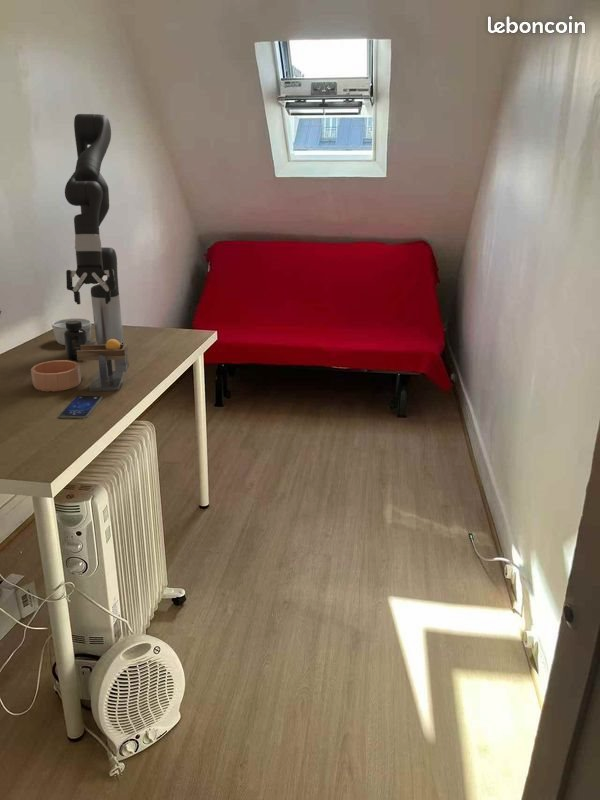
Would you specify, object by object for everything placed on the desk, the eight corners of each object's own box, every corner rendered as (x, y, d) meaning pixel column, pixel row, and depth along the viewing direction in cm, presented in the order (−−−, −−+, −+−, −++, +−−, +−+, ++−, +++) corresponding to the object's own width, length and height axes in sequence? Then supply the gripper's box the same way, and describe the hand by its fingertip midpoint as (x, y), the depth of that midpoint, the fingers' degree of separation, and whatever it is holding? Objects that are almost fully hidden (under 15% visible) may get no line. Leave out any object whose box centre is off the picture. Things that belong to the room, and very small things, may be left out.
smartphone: (103, 395, 164) (86, 417, 150) (103, 398, 164) (86, 420, 150) (76, 394, 164) (56, 416, 150) (76, 398, 164) (57, 419, 150)
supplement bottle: (92, 355, 199) (88, 319, 195) (83, 361, 193) (79, 325, 188) (72, 354, 200) (68, 319, 195) (63, 360, 193) (58, 324, 189)
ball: (107, 350, 174) (106, 337, 172) (121, 350, 174) (120, 337, 173) (105, 354, 170) (103, 341, 169) (119, 354, 171) (118, 340, 169)
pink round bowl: (40, 377, 178) (37, 360, 176) (84, 375, 180) (82, 359, 178) (28, 392, 166) (26, 374, 164) (76, 390, 168) (73, 373, 166)
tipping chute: (88, 357, 183) (85, 337, 181) (131, 356, 185) (130, 336, 183) (78, 373, 169) (76, 351, 167) (126, 372, 171) (124, 350, 169)
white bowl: (101, 340, 216) (99, 321, 213) (70, 348, 205) (68, 329, 203) (77, 334, 222) (74, 316, 220) (46, 342, 212) (43, 323, 209)
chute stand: (97, 374, 181) (94, 344, 177) (124, 374, 182) (121, 343, 179) (89, 391, 168) (85, 358, 165) (118, 390, 169) (115, 357, 166)
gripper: (114, 250, 187) (118, 303, 190) (66, 250, 185) (71, 303, 188) (110, 249, 179) (115, 304, 183) (61, 249, 177) (66, 305, 181)
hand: (93, 304), depth 185 cm, fingers open, 8 cm apart
